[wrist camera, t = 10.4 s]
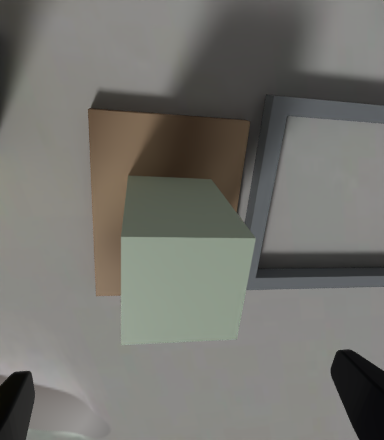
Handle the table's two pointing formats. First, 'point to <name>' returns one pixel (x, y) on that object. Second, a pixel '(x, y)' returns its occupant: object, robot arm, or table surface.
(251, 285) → the bin rim
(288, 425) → the table surface
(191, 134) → the walnut pad
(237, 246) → the box
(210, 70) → the table surface
